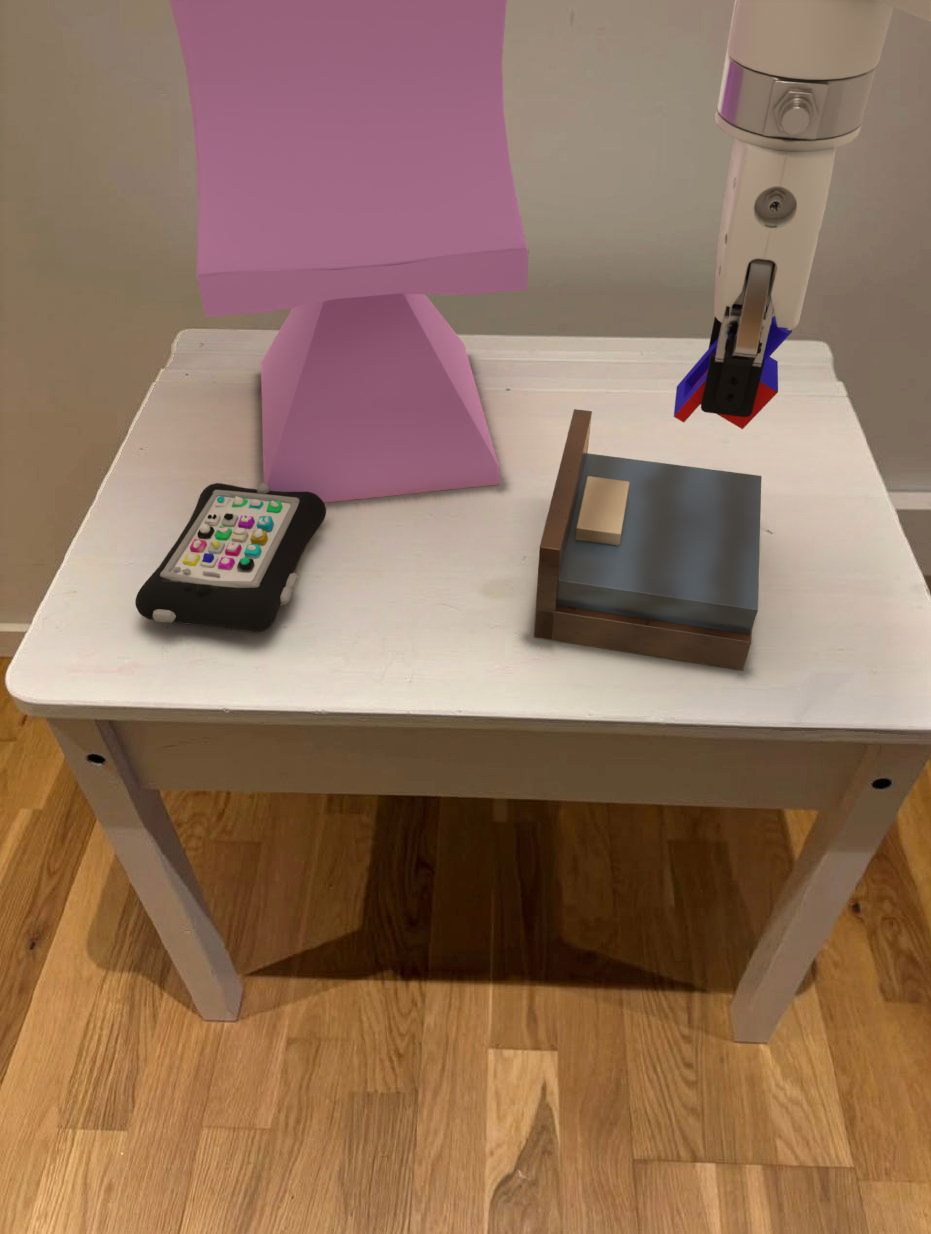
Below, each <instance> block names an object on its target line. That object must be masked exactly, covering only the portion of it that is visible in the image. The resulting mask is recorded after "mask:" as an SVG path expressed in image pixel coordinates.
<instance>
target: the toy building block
mask: <svg viewBox="0 0 931 1234" xmlns="http://www.w3.org/2000/svg"><path fill="white" fill-rule="evenodd" d="M792 332H793V329H792V330H786V328H783V327H777V323H776V318H775V315H773V316H772V323H771V325H770V329H769V333H768V338H767V342H766V347H765V351H764V356H763V359H764V366H763V370H762V374H761V378H760V382H759V386H758V390H757V394H756V398H755V403H754V407H753V411H752V414H751V415H750V416H748V417H739V416H731V415H723V414H716V415H717V416H719V417H721V418H722V419H724V420H726V421H728V422H729V423H730V424H733V425H734V426H736V427H738V428H739V429H741V430H744V429H745V428H746V427H747V425H749V424H750V422H751V421H752V420H753V419H754V418H755V417H756V416H757V415H758V414H759V413H760V412H761V411H762V410H763V409H764V408H765V407H766V406H767V405H768V404H769V402H771V401H772V400H773V398H775V396H776V395H777V394H778V393H779V363H778V362H779V361H778V360H776V359H775V358H773V357H771V356H772V355H773V354H774V352H776V350H777V349H779V347H780V346H781V345H782V344H783V343H784V342H785V341H786V339H787V338H788V337H789V336H790V335H791V334H792ZM731 334H732V333H729V337H730V336H731ZM718 339H719V337H718V338H717V340H716V341H715V342H714V343H713V344H712V345H711V347H710V348H709V347H708V349H707V350H706V351H705V352H704V353H703V355H702V356H701V357H700V358H699V359H698V361H697V362H696V363H695V364H694V365H693V366H692V368H691V369H690V370H689V371H688V372H687V374H685V376H684V377H683V379H681V381H680V382H679V383H678V384H677V385H676V389H675V400H674V409H673V418H675V419H677V420H678V421H680V422H682V423H685V422H686V421H687V420H688V419H689V418H690V417H691V416H692V415H693V413H694V412H695V411H696V410H697V409H698V408H699V407H700V406H701V402H702V397H703V392H704V387H705V382H706V377H707V372H708V367H709V362H710V357H711V353H716V349H717V344H718ZM728 339H729V338H728Z"/></svg>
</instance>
